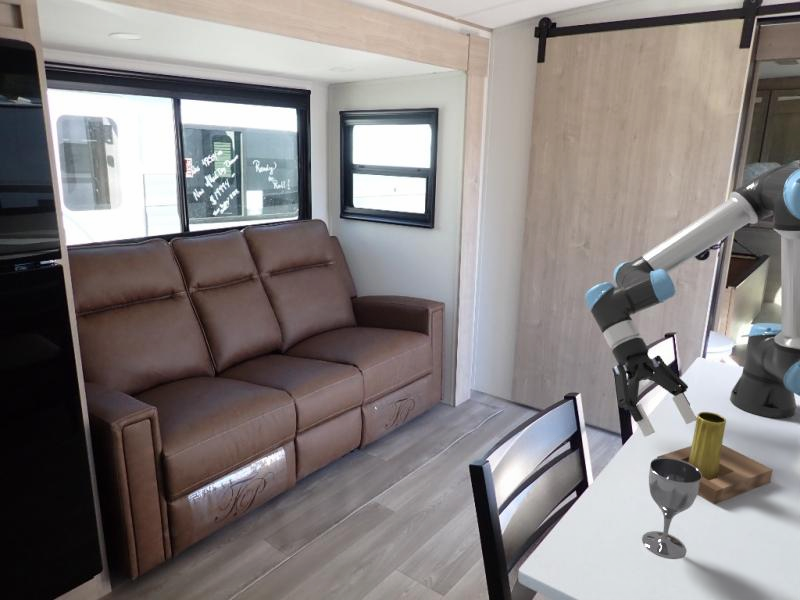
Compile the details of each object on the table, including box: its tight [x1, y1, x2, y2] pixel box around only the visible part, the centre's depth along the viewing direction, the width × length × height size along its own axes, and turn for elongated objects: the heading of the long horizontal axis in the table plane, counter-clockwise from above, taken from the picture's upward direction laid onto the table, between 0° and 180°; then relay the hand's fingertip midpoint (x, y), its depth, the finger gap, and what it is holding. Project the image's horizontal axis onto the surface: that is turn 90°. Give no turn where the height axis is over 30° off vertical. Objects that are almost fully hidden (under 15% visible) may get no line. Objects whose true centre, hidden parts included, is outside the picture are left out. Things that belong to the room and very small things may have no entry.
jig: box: [656, 444, 774, 505], centre depth 123 cm, size 18×14×3 cm
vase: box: [689, 411, 727, 480], centre depth 120 cm, size 6×6×14 cm
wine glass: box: [641, 457, 702, 560], centre depth 99 cm, size 8×8×15 cm
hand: (671, 428), depth 127 cm, fingers open, 13 cm apart
